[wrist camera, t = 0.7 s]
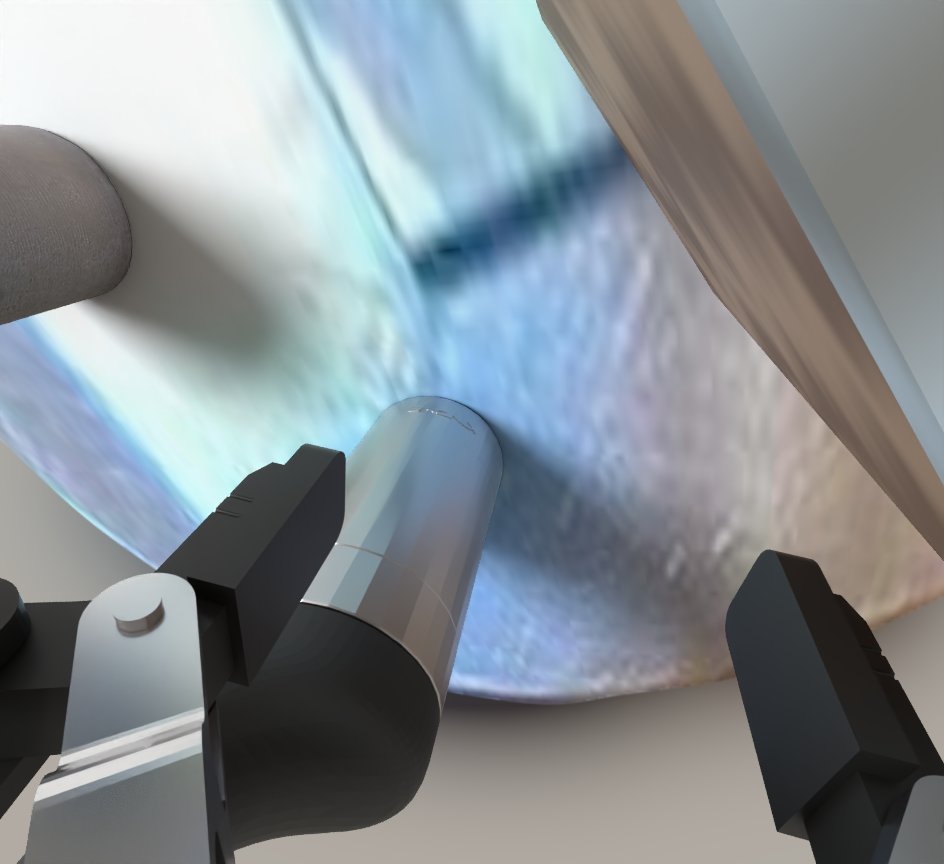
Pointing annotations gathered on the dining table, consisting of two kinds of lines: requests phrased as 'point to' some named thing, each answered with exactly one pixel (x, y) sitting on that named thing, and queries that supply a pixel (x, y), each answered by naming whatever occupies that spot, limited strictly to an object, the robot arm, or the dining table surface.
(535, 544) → the dining table surface
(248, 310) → the dining table surface
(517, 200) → the dining table surface
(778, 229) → the block
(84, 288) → the pillar candle
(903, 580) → the dining table surface
